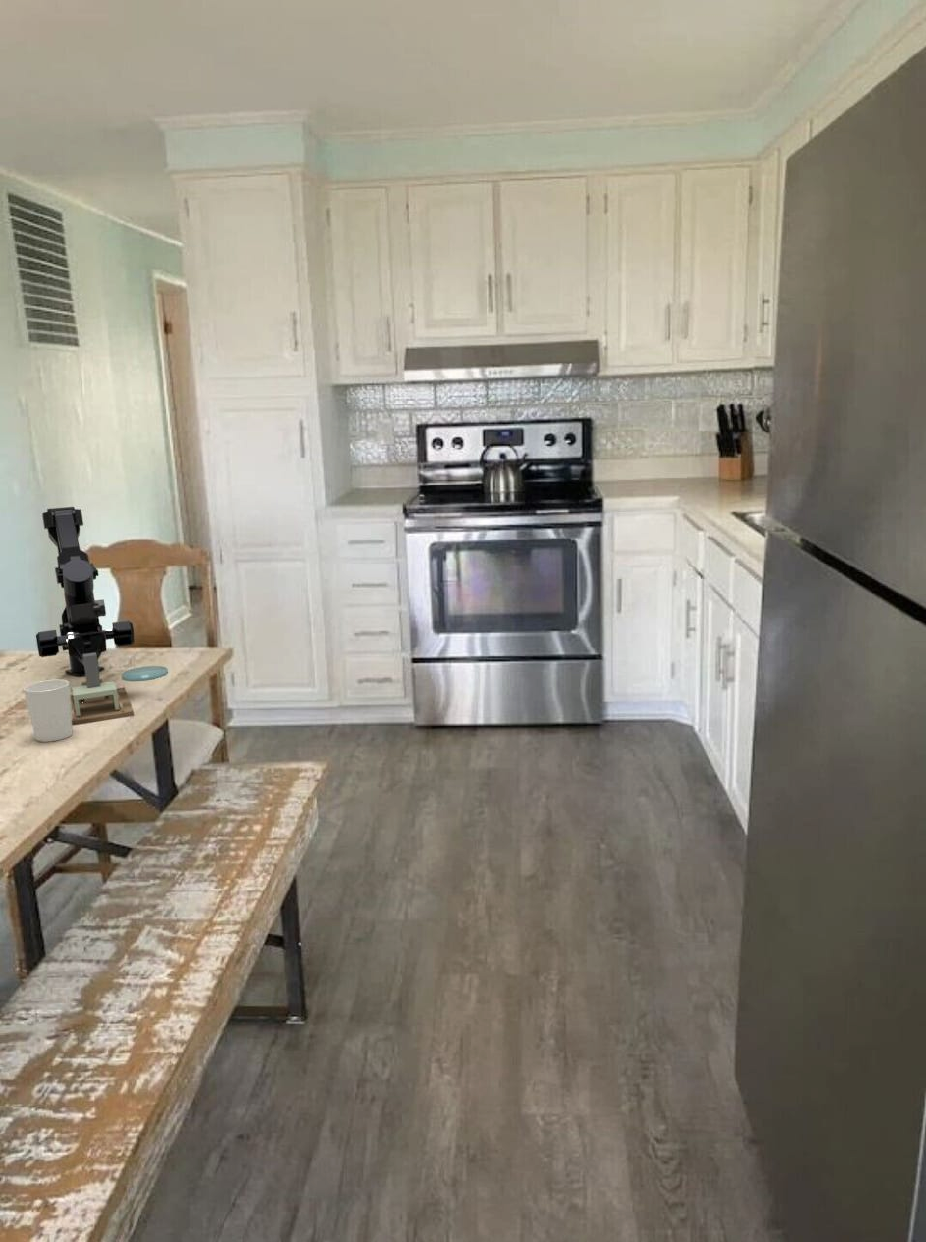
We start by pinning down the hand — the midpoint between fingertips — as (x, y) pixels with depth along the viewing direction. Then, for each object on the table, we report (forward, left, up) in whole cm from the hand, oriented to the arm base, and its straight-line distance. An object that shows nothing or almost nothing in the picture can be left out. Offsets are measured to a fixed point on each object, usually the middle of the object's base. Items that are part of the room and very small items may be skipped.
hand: (91, 673), depth 199 cm
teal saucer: (-13, +21, -8) cm, 26 cm away
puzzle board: (-1, 0, -8) cm, 8 cm away
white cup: (+7, -14, -8) cm, 18 cm away
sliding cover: (+3, -2, -6) cm, 7 cm away
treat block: (-5, +3, -8) cm, 10 cm away
